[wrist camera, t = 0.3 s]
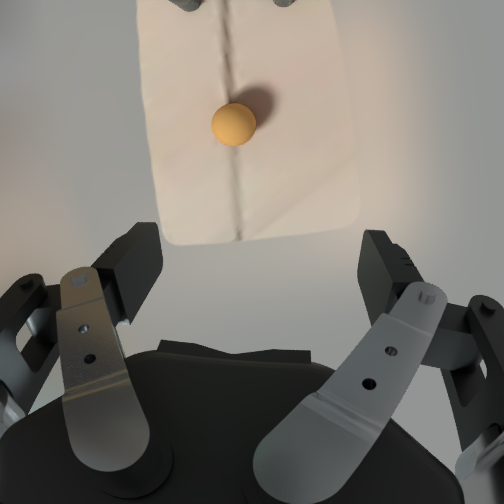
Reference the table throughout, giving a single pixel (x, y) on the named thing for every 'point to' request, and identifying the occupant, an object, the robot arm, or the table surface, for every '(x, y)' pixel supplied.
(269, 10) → the table surface
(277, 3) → the right post
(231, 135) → the ball
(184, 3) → the left post
